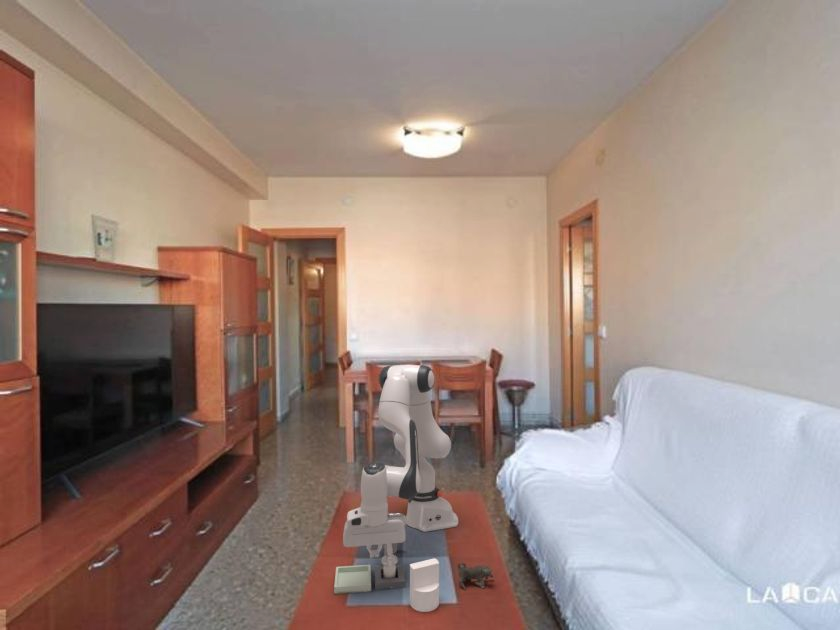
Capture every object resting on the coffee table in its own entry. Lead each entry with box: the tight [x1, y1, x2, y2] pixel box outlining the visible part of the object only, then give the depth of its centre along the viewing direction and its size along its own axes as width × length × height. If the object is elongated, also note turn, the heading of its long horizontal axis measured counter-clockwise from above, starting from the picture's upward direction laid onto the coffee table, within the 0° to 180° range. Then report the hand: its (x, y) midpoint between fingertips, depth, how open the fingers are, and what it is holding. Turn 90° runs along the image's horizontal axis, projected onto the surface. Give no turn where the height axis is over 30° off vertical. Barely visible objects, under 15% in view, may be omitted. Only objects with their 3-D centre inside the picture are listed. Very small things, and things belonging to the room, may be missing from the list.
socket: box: [374, 544, 406, 590], centre depth 156 cm, size 10×17×8 cm, turn 7°
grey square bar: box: [386, 543, 394, 566], centre depth 156 cm, size 17×3×3 cm, turn 7°
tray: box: [333, 564, 372, 595], centre depth 152 cm, size 12×12×2 cm
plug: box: [381, 554, 398, 579], centre depth 153 cm, size 5×5×7 cm
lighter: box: [392, 543, 398, 553], centre depth 170 cm, size 7×2×8 cm, turn 83°
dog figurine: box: [457, 562, 494, 591], centre depth 150 cm, size 12×6×7 cm, turn 91°
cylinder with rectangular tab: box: [409, 557, 440, 613], centre depth 141 cm, size 9×9×12 cm
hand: (374, 556), depth 149 cm, fingers closed
